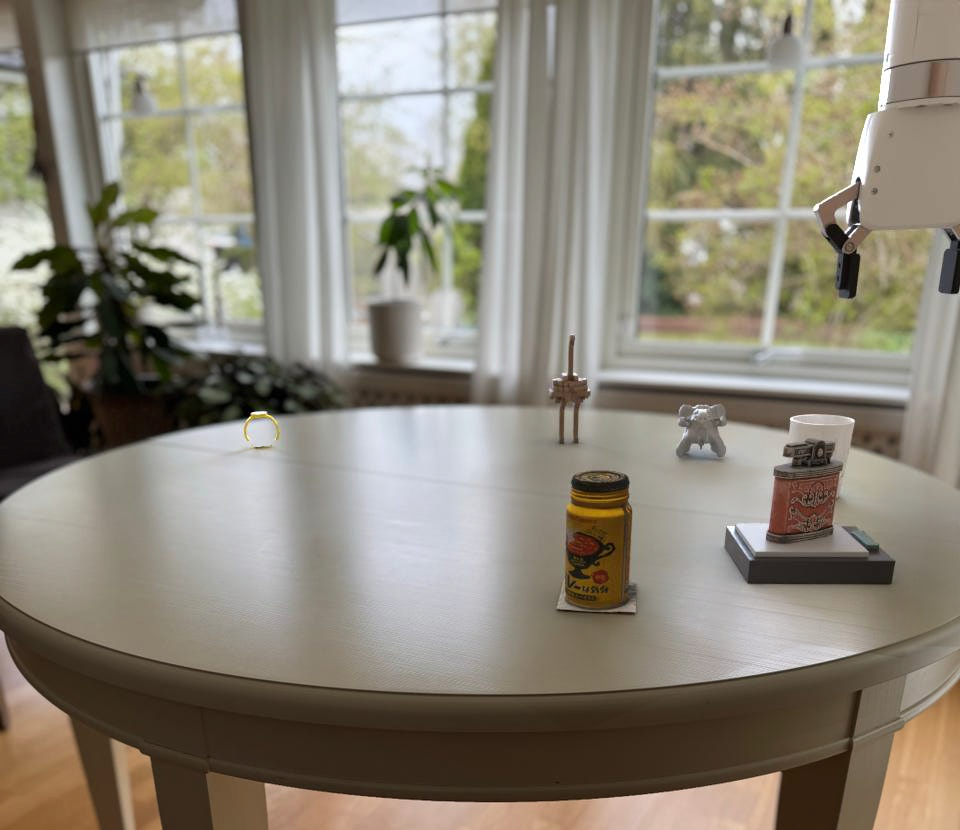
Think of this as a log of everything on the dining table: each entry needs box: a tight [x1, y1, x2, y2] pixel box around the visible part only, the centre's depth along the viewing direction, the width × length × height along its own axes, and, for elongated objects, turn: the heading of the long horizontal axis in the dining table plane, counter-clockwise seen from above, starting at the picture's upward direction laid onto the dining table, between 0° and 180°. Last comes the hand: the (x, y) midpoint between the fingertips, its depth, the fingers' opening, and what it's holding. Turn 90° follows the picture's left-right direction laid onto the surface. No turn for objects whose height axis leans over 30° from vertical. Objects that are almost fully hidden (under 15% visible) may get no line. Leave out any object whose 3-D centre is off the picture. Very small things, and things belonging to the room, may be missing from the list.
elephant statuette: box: [675, 403, 728, 459], centre depth 143 cm, size 9×12×8 cm
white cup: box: [787, 413, 856, 499], centre depth 117 cm, size 8×8×10 cm
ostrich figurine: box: [548, 333, 592, 444], centre depth 156 cm, size 17×7×18 cm, turn 1°
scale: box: [724, 522, 896, 585], centre depth 92 cm, size 14×12×3 cm
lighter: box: [766, 438, 843, 544], centre depth 90 cm, size 8×3×10 cm, turn 115°
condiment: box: [556, 470, 638, 613], centre depth 83 cm, size 7×8×12 cm
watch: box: [243, 411, 281, 442], centre depth 154 cm, size 6×3×6 cm, turn 103°
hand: (897, 295), depth 86 cm, fingers open, 9 cm apart
